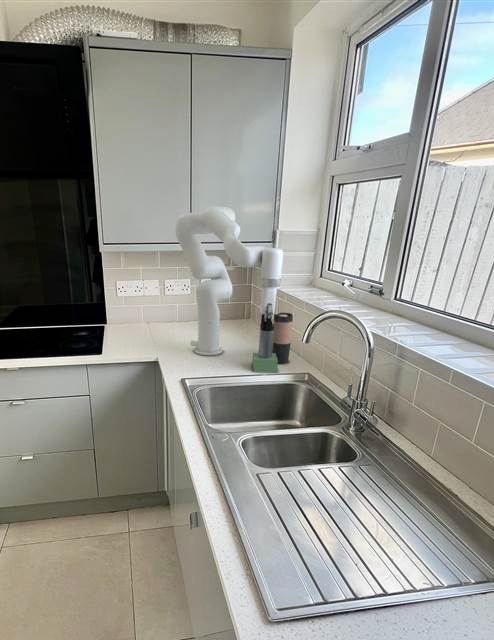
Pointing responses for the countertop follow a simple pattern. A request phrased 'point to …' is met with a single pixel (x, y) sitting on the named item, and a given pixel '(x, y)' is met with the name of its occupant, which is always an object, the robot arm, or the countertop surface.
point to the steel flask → (266, 342)
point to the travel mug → (282, 336)
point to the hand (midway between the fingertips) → (266, 327)
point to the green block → (265, 363)
